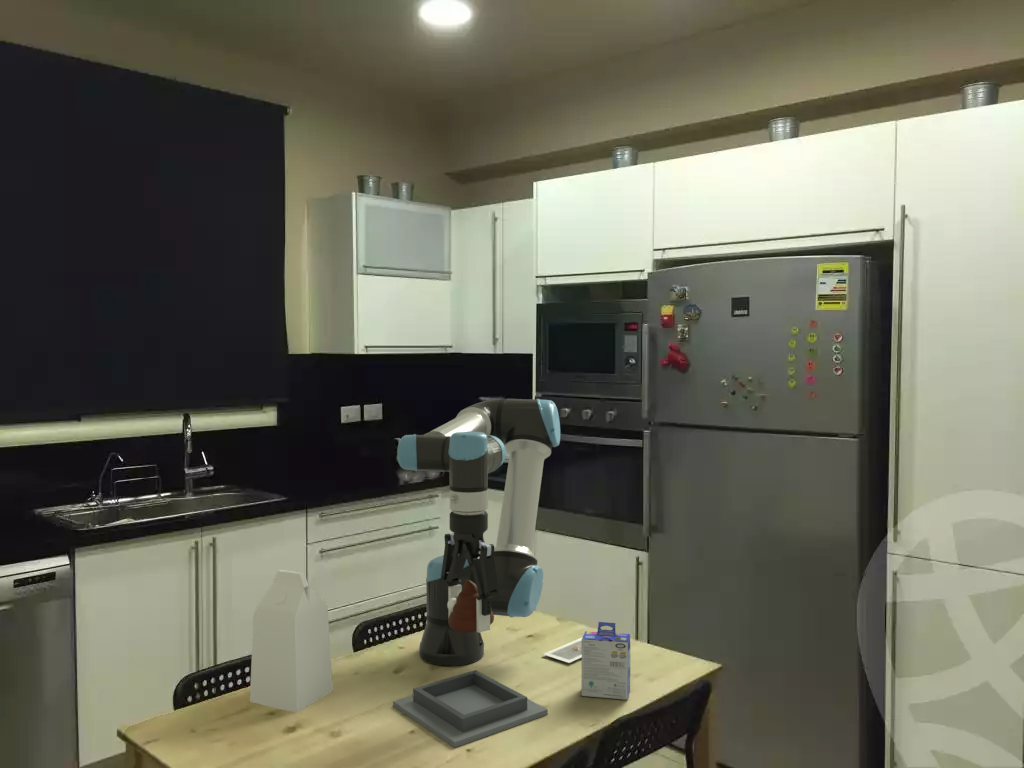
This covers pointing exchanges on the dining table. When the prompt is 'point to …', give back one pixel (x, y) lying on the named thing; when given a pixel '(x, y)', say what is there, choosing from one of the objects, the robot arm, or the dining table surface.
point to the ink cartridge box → (606, 663)
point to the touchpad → (567, 651)
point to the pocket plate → (468, 707)
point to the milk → (290, 645)
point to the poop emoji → (465, 609)
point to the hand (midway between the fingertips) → (468, 623)
